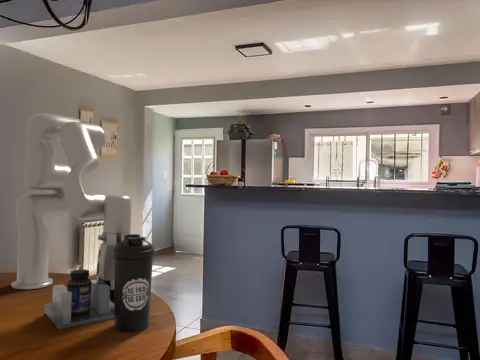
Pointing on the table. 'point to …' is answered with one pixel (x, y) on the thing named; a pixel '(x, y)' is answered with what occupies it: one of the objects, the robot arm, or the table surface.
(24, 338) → the table surface
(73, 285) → the pill bottle
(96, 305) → the sliding jaw
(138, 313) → the water bottle
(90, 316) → the vise base
